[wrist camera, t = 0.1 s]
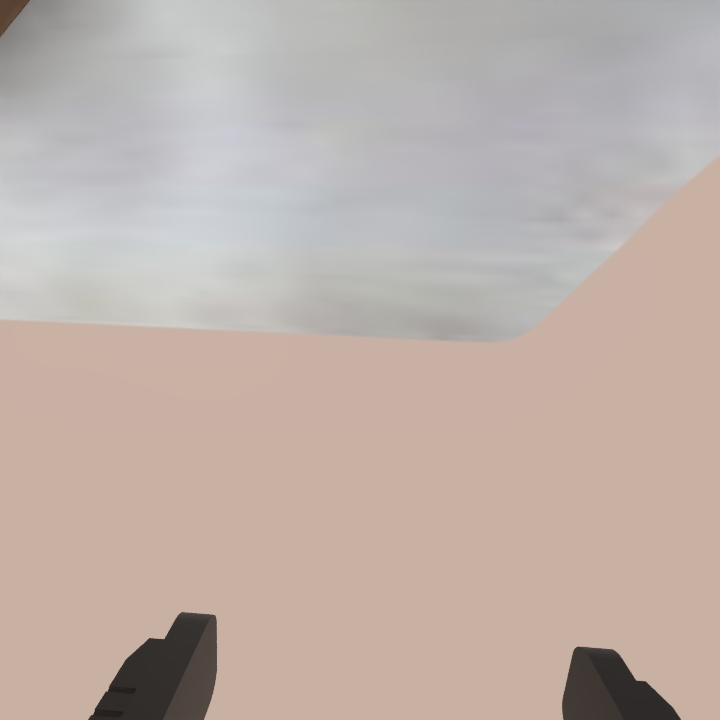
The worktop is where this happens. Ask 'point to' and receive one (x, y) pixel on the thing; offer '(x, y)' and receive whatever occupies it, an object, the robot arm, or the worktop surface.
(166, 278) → the worktop surface
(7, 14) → the post
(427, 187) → the worktop surface
